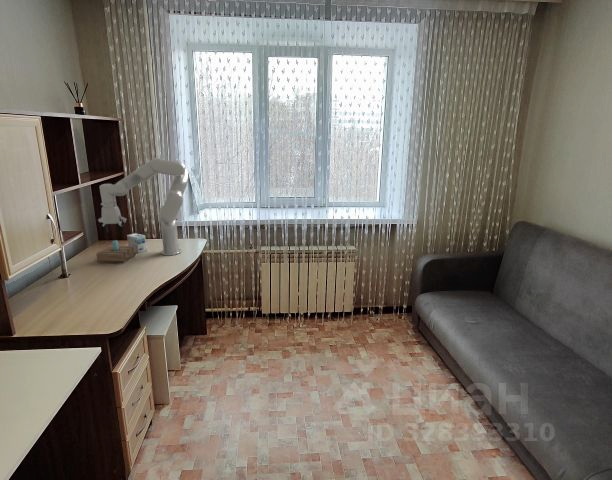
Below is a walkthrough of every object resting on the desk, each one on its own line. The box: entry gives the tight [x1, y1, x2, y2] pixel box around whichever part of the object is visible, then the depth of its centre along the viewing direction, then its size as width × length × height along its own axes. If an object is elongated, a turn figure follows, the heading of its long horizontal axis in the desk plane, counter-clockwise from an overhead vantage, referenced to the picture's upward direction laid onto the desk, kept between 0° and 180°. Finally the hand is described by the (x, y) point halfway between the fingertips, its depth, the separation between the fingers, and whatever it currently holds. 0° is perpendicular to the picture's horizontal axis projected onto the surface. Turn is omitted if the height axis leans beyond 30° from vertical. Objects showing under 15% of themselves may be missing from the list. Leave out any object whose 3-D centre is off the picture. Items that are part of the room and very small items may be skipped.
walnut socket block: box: [95, 245, 137, 264], centre depth 247 cm, size 16×16×6 cm
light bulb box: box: [126, 232, 148, 254], centre depth 263 cm, size 11×7×11 cm, turn 58°
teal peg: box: [111, 239, 120, 251], centre depth 246 cm, size 3×3×10 cm
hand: (114, 232), depth 243 cm, fingers open, 9 cm apart
